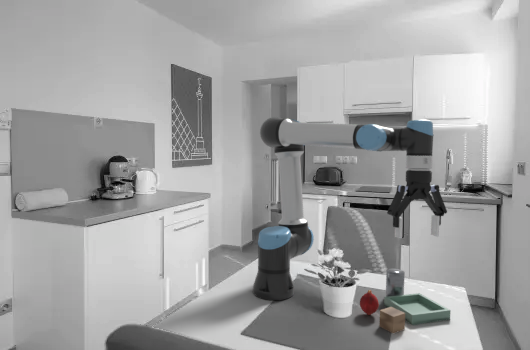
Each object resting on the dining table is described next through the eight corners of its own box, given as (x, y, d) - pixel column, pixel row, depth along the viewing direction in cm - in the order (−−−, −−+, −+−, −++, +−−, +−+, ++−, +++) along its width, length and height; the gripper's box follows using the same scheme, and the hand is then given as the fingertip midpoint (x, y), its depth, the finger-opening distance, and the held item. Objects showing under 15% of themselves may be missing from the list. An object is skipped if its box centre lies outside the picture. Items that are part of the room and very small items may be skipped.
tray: (384, 305, 119) (384, 296, 119) (418, 301, 123) (419, 293, 123) (412, 324, 106) (412, 315, 105) (450, 319, 109) (450, 310, 109)
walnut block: (379, 326, 105) (379, 310, 104) (390, 322, 107) (391, 306, 107) (393, 334, 100) (393, 316, 100) (404, 329, 103) (405, 313, 103)
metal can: (382, 296, 127) (383, 269, 126) (396, 294, 129) (397, 268, 128) (392, 303, 121) (393, 274, 121) (407, 301, 123) (408, 273, 122)
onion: (379, 320, 108) (380, 294, 108) (360, 318, 110) (360, 293, 109) (377, 312, 114) (378, 287, 114) (358, 310, 115) (359, 286, 115)
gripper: (391, 170, 104) (389, 241, 105) (461, 170, 110) (458, 237, 111) (376, 169, 111) (375, 235, 112) (443, 169, 117) (441, 232, 118)
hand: (416, 236), depth 112 cm, fingers open, 13 cm apart
